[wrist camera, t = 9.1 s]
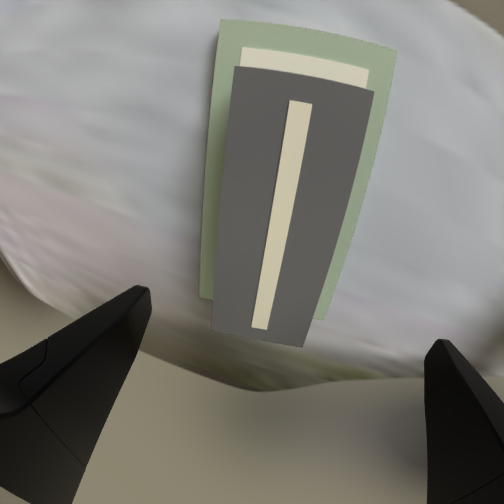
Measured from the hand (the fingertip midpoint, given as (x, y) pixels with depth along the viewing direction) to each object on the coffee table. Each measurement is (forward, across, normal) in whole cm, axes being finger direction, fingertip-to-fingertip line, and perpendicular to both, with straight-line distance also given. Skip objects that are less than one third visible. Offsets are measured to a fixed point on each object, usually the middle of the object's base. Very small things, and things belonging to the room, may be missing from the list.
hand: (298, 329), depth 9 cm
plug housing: (+10, +1, 0) cm, 10 cm away
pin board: (+12, +1, 0) cm, 12 cm away
